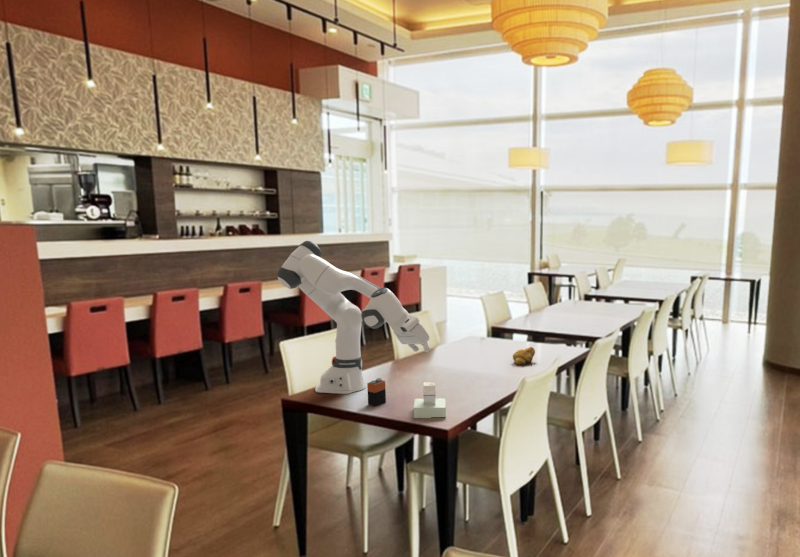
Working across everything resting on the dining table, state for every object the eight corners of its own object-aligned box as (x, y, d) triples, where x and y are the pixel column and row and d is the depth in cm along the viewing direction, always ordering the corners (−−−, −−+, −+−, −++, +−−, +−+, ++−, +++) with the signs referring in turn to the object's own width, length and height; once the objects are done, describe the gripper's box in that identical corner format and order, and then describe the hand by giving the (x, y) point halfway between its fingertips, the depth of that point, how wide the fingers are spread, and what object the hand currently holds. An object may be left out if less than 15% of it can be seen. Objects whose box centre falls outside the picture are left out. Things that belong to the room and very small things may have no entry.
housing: (423, 404, 211) (423, 385, 210) (423, 401, 216) (423, 382, 215) (435, 404, 211) (435, 385, 210) (435, 401, 215) (435, 382, 215)
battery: (386, 402, 228) (385, 378, 227) (375, 406, 223) (374, 382, 222) (378, 400, 231) (377, 377, 230) (367, 404, 226) (366, 380, 225)
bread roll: (524, 367, 277) (524, 351, 276) (507, 364, 283) (507, 349, 282) (536, 361, 286) (536, 346, 286) (520, 359, 293) (519, 344, 292)
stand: (413, 418, 208) (413, 407, 208) (415, 408, 219) (414, 398, 219) (445, 417, 208) (445, 407, 207) (445, 408, 218) (445, 398, 218)
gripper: (385, 329, 224) (405, 355, 226) (408, 328, 205) (429, 356, 208) (396, 319, 226) (416, 345, 229) (419, 317, 208) (440, 345, 210)
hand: (422, 350), depth 218 cm, fingers open, 8 cm apart
